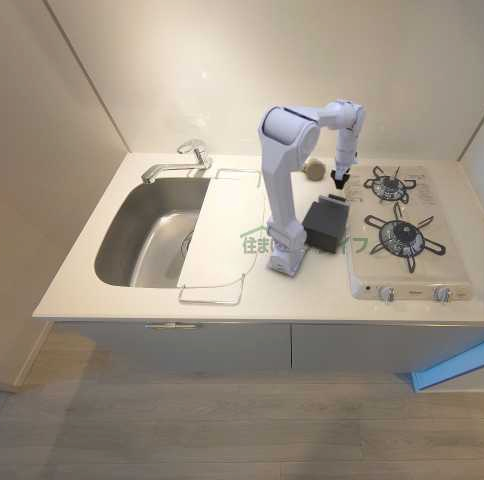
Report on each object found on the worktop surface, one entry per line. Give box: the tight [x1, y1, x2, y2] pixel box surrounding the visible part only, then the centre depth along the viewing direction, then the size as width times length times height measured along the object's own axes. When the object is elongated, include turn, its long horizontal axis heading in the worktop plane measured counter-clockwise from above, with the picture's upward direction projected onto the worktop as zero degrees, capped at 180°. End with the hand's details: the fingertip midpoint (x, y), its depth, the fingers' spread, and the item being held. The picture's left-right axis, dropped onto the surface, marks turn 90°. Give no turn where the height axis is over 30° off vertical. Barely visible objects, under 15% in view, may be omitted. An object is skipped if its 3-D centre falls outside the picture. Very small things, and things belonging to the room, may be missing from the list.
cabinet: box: [301, 200, 350, 255], centre depth 82 cm, size 11×12×9 cm
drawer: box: [317, 193, 351, 213], centre depth 86 cm, size 13×10×7 cm
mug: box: [301, 157, 326, 181], centre depth 100 cm, size 8×10×10 cm
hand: (342, 180), depth 86 cm, fingers open, 7 cm apart
